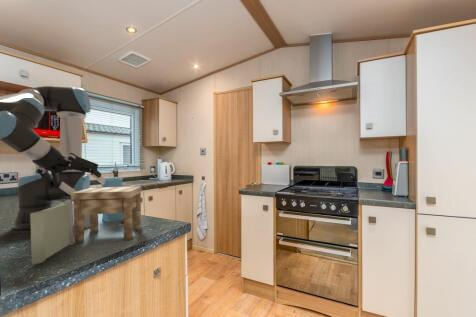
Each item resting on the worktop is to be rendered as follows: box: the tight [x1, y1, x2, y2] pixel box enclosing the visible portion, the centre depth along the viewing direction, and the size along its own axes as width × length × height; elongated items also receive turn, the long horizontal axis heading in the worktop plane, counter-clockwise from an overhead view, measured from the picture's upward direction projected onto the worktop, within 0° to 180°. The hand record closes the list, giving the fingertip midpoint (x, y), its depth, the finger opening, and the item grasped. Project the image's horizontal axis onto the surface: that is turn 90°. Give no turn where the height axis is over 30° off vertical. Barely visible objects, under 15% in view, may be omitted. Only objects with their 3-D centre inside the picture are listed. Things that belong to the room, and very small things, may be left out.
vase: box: [101, 177, 124, 223], centre depth 114 cm, size 8×8×20 cm
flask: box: [84, 214, 90, 230], centre depth 102 cm, size 7×7×10 cm
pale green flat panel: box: [30, 200, 74, 265], centre depth 73 cm, size 17×3×15 cm, turn 7°
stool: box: [71, 185, 143, 244], centre depth 91 cm, size 20×14×18 cm
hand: (89, 187), depth 93 cm, fingers open, 13 cm apart
